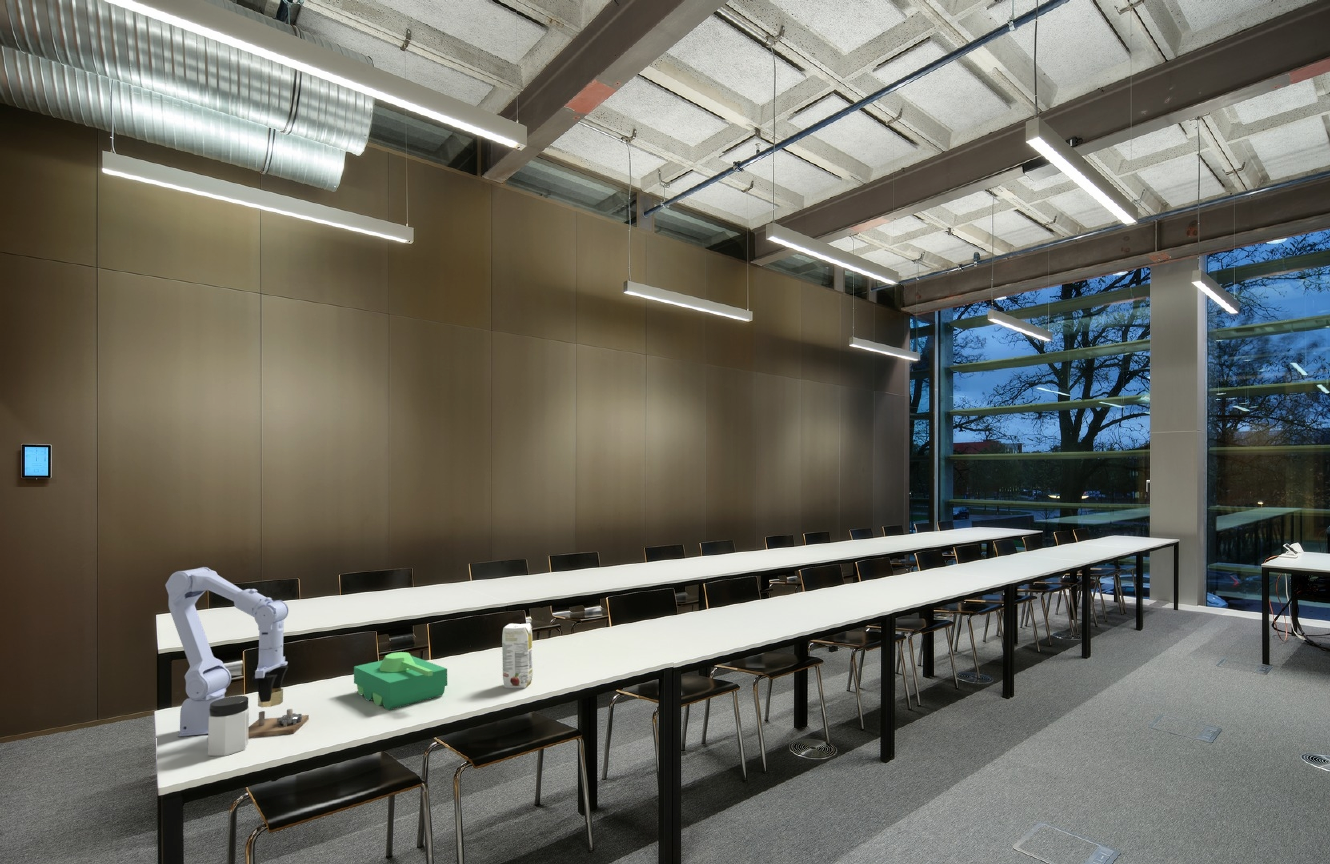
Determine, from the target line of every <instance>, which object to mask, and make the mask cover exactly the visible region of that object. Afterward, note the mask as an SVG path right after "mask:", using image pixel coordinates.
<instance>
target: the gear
mask: <svg viewBox="0 0 1330 864" xmlns="http://www.w3.org/2000/svg"><path fill="white" fill-rule="evenodd" d="M279 717H280V718H279ZM279 717H276V718H277V726H278V727H279V726H283V727H287V726H290V725H296V724H297V723H299V722H302V713H296V712H295V713H293V717H291V718H287V714H284V715H282V716H279Z"/></svg>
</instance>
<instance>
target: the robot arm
mask: <svg viewBox="0 0 1330 864" xmlns="http://www.w3.org/2000/svg"><path fill="white" fill-rule="evenodd" d="M164 586H165V588H166V591H167V594H168V609H169V612H170V614H171V617H172V621H173V623H174V625H175V628H176V631H177V635H178V637H179V640H180V643H181V645H182V648H183V650H184V653H185V657H186V659H187V662H188V664H189V668H188V670H187V671H186V673H185V675H184V679H185V680H184V681H185V693H186V695H187V696H188V697H187V698H186V699H185V700H184V701H183V702H182V704H181V707H180V713H179V714H180V715H179V733H178V736H177V737H187V736H189V737H190V736H198V735H199V736H200V735H208V728H209V716H210V711H209V708H210V704H211V703H212V702H214V701H216V700H219V699H222V698H225V693H226V692H227V689H228V687H229V686H230V684H231V682H232V674H231V671H230V670H229V669H228V668H227V667H226V666H225V665H224V662H223V661H222V660H221V659H219V658H216V657H215V656H214V653H213V652H212V648H211V646H210V644H209V641H208V638H207V635H206V633H205V630H204V627H203V625H202V622H201V618H200V616H199V614H198V610H197V608H196V604H197V602H198V600H199V598H200V597H201V596H202V595H204V593H205V592H206V591H209V592H212V593H215V594H216V595H219V596H221V597H224V598H225V599H228V600H230V601H232V602H233V605H234V607H235V608H236V609H238V610H240V611H241V612H243V613H245V614H247V615H249V616H251V617H253V618H254V621H255V622H256V624H257V627H258V628H257V629H258V631H259V633H258V639H259V640H258V664H257V668H256V670H254V673H255V674H254V675H252V676H251V680H252V682H253V684H254V686H255V687H256V690H257V693H258V694H259V698H260V701H261V702H269V701H270V699H271V694H272V688H282V684H283V681H284V678H285V675H286V672H287V671H288V669H289V665H288V661H286V655H285V656H284V628H285V627H284V626H285V625H284V623H285V619H286V618H287V617H288V615H289V607H288V605H287V603H286V602H284V601H283V600H282V599H279V600H273V598H272V597H270V596H269V597H268V596H267V597H266V596H264V595H263V594H261V593H259V592H258V590H257V589H256V588H247V589H246V588H245V589H241V588H240V587H238V586H237V585H235V584H233V583H232V582H230V581H229V580H227V579H225V578H223V577H222V576H220V575H218V573H217V571H215V570H212V569H210V568H209V567H206V566H202V567H198V568H194V569H192V568H191V569H186V570H178V571H175V572H173V573H172V574H171V575H170V576H169V578H168V580H167V581H166V583H165V585H164ZM258 694H257V695H258Z"/></svg>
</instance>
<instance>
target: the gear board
mask: <svg viewBox="0 0 1330 864" xmlns="http://www.w3.org/2000/svg"><path fill="white" fill-rule="evenodd" d="M293 711H294V710H293V708H288V709H287V710H286V715H287V718H291V717H293ZM265 714H266V711H265V710H263V711H262V710H261V711H259V712H258V719H257V720H256V721H255V722H253V723H252V724H251V725H249V732H248V739H252V738H261V736H264V737H270V736H269V735H275V736H278V735H277V734H285V735H294V734H295V733H297V731H298V730H300V728H301V727H302V726H304V725H305V723H307V722H308V721H309V717H310V716H309V714H305V715H302V722H299V723H297V724H296V725H290V726H287V727H283V726H279V727H278V726H277V718H280V717H281V716H279V717H270V718H265V717H266V715H265Z"/></svg>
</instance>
